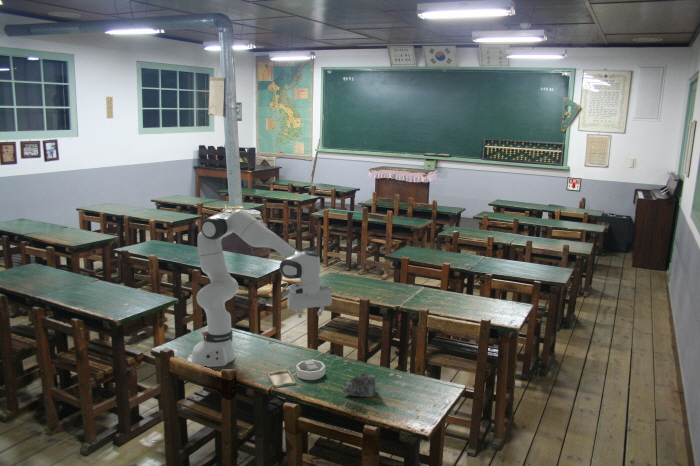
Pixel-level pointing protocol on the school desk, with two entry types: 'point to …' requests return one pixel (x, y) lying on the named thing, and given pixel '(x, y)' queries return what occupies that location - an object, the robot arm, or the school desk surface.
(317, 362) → the bowl
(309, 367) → the grey rectangular block
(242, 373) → the school desk surface
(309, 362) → the grey cube
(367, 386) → the mineral rock
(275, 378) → the tray
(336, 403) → the school desk surface
